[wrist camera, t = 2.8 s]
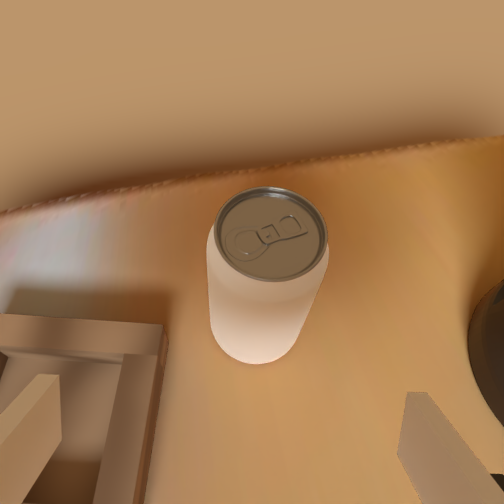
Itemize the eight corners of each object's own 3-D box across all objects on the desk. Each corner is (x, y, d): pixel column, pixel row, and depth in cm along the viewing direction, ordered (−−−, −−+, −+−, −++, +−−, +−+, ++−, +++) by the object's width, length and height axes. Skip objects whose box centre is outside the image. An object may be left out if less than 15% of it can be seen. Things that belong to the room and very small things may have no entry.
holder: (168, 343, 30) (162, 324, 27) (135, 551, 24) (123, 557, 21) (-5, 331, 30) (-31, 311, 26) (-85, 539, 23) (-130, 544, 20)
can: (196, 302, 32) (184, 203, 21) (273, 270, 33) (295, 164, 23) (234, 382, 29) (240, 312, 18) (315, 342, 30) (362, 257, 20)
